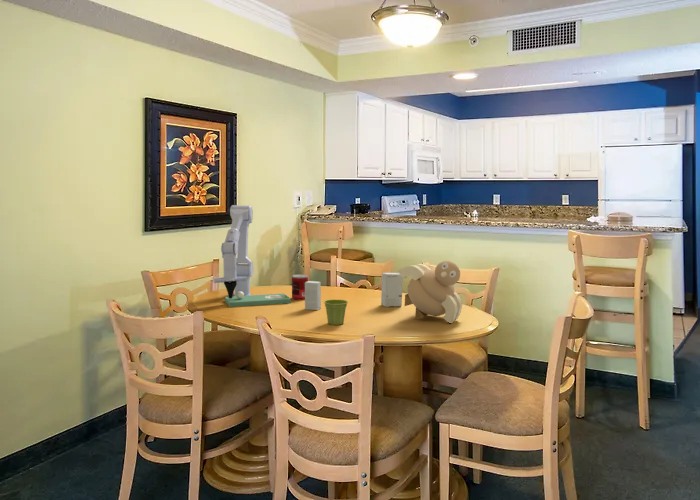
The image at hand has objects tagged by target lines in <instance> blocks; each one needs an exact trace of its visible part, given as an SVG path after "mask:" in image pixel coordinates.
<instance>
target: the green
mask: <svg viewBox="0 0 700 500" xmlns="http://www.w3.org/2000/svg"><path fill="white" fill-rule="evenodd" d="M224 302H225V304H226V305H227V306H228V307H229V308H235V307H237V306H238V307H251V306H254V307H255V306H266V305H267V306H268V305H283V304H291V303H292V297H289V296H288V295H287V294H286V293H284V292H283V293H269V294H268V293H265V294H251V295H248V296H244V297H243V298H242V299H238V298H237V296H234V295H233V296H232V298H229V296H224Z"/></svg>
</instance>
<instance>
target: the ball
mask: <svg viewBox="0 0 700 500" xmlns="http://www.w3.org/2000/svg"><path fill="white" fill-rule="evenodd" d="M236 296H237V298H238V299H242V298H243V297H244V293H243V292H242V291H239V292H237V294H236Z"/></svg>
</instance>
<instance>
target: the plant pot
mask: <svg viewBox="0 0 700 500" xmlns="http://www.w3.org/2000/svg"><path fill="white" fill-rule="evenodd" d="M348 303H349V301H347V300H344V299H327V300H324V301H323V304H324V306H325V311H326V317H327V318H326V319H327V324H329V325H331V326H332V325H333V326H339V325H341V324H342V325H344V323H345V316H346V315H345V314H346V308H347V305H348Z"/></svg>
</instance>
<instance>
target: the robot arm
mask: <svg viewBox="0 0 700 500" xmlns="http://www.w3.org/2000/svg"><path fill="white" fill-rule="evenodd" d="M229 215H230V218H231V226H230V229H228V230H227V233H226V237H225V240H224V242H222V243H221V246H220V247H221V248H220V249H221V250H220V251H221V257H222V259H223V264H222V265H223V277H216V278H214V277H213V283H214V284H218V283H219V284H220V283H222V284H223V285H224V286H225V288H226V292H227V295H228V296H227V297H229V298H232V296H236V294H237V292H239V291H242V292H243V293H244V296H248V295H252V293H251V281H250V280H251V278H252V276H253V275H254V264H253V261H252V260H251V259H250V258H249V257H248V246H249V245H248V244H249V227H250V226H249V225H250V224H251V223H253V218H254V217H253V216H254V211H253V206H252V205H250V204H248V205H238V204H237V205H234V204H232V205H231V206H230V207H229Z"/></svg>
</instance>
